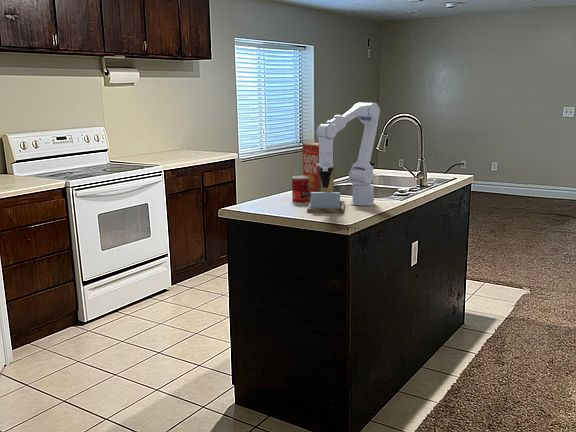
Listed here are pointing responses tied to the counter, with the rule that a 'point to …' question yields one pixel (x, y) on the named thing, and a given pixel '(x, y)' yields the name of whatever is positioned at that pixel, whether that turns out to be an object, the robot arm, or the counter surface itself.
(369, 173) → the robot arm
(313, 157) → the food packaging
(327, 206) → the panel
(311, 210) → the rack
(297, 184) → the canned food
